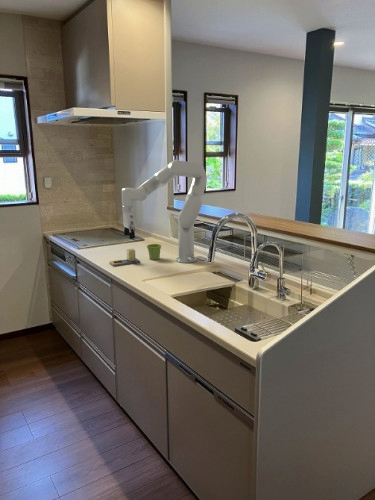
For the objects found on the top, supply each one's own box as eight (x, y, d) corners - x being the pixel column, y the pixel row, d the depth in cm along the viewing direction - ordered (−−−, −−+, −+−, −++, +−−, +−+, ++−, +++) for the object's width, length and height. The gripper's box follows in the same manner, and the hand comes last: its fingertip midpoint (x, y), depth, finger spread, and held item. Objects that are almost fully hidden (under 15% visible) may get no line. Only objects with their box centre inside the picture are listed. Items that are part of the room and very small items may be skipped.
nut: (135, 262, 246) (135, 249, 244) (129, 263, 245) (128, 250, 243) (133, 261, 250) (132, 248, 248) (127, 261, 248) (126, 249, 246)
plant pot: (144, 260, 251) (143, 246, 249) (151, 256, 260) (150, 243, 258) (158, 261, 248) (157, 247, 246) (164, 257, 256) (164, 244, 254)
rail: (136, 259, 252) (136, 257, 252) (140, 262, 246) (139, 260, 246) (109, 263, 245) (109, 261, 244) (112, 266, 239) (112, 264, 238)
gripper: (139, 210, 233) (140, 239, 237) (129, 206, 248) (130, 233, 252) (127, 211, 230) (128, 240, 234) (118, 207, 245) (119, 234, 249)
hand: (129, 237), depth 243 cm, fingers open, 9 cm apart
